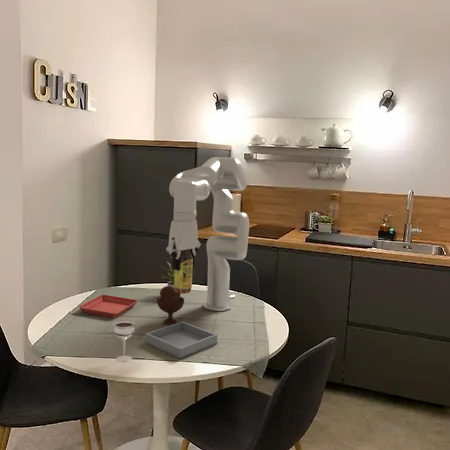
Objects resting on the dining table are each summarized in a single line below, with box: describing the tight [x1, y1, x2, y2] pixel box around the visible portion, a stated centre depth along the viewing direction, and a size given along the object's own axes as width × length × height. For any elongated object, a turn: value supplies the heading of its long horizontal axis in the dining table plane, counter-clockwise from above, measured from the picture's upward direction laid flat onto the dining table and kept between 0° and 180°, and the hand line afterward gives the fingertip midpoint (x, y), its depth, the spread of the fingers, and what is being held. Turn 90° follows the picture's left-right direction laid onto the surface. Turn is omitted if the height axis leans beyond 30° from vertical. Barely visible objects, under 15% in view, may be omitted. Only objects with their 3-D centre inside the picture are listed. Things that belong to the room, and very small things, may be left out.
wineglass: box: [113, 319, 136, 363], centre depth 158 cm, size 7×7×12 cm
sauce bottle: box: [174, 249, 193, 295], centre depth 168 cm, size 6×6×20 cm
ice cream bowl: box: [156, 285, 185, 326], centre depth 191 cm, size 11×11×15 cm
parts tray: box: [144, 321, 218, 360], centre depth 173 cm, size 18×18×4 cm
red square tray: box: [78, 294, 139, 319], centre depth 204 cm, size 18×18×3 cm
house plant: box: [159, 262, 174, 288], centre depth 225 cm, size 14×14×16 cm
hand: (183, 267), depth 168 cm, fingers closed on sauce bottle, 6 cm apart
